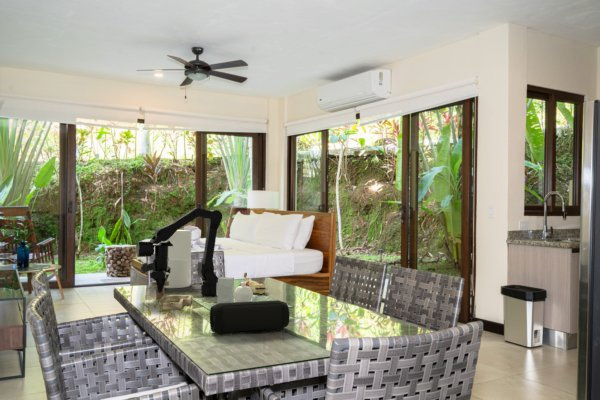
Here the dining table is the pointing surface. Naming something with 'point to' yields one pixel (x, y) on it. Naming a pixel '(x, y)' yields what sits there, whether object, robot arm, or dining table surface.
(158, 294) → the tan brick
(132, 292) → the dining table surface
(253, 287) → the cat figure
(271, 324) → the portable speaker
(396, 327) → the dining table surface
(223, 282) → the skincare box
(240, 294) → the white vase
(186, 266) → the cylinder
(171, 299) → the keyhole cradle
